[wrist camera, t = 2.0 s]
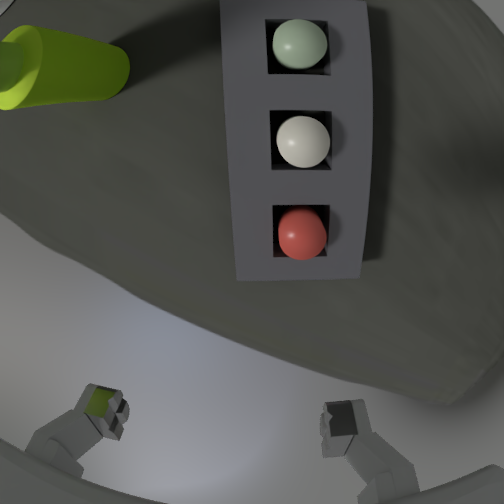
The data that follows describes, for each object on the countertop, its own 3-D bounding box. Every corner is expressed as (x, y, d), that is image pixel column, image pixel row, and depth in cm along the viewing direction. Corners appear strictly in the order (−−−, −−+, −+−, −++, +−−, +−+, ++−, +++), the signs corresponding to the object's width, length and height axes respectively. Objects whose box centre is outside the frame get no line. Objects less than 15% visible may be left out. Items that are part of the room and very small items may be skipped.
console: (224, 8, 20) (219, -3, 17) (356, 11, 19) (366, 1, 16) (239, 265, 31) (236, 281, 29) (352, 263, 31) (359, 278, 28)
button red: (277, 205, 27) (278, 216, 24) (321, 204, 26) (327, 216, 24) (278, 245, 28) (279, 260, 26) (319, 244, 28) (324, 259, 25)
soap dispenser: (141, 39, 21) (-23, -12, 3) (120, 104, 24) (-59, 136, 6) (94, 35, 20) (-67, 11, 2) (75, 96, 23) (-92, 127, 6)
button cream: (275, 115, 23) (276, 116, 20) (322, 116, 23) (330, 117, 20) (276, 161, 25) (278, 167, 22) (322, 161, 25) (329, 168, 22)
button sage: (271, 28, 19) (271, 18, 17) (319, 29, 19) (325, 20, 16) (273, 70, 21) (274, 65, 18) (321, 71, 21) (328, 67, 18)
